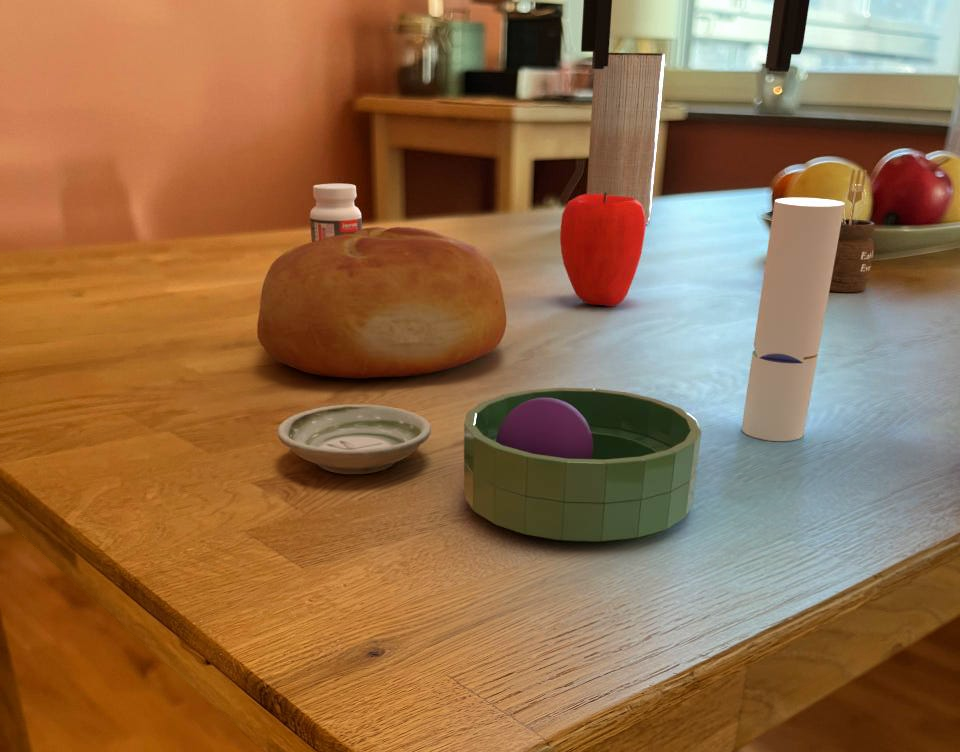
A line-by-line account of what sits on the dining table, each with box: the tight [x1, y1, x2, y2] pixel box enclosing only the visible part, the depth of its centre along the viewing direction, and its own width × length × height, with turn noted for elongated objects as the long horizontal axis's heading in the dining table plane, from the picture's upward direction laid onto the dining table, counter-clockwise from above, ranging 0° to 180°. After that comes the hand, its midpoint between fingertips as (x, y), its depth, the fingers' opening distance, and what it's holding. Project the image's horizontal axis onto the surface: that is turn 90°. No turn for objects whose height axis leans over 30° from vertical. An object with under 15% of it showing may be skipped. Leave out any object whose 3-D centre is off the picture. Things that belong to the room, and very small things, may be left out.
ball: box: [496, 398, 593, 459], centre depth 58 cm, size 6×6×6 cm
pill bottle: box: [309, 183, 363, 242], centre depth 114 cm, size 6×6×10 cm
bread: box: [256, 226, 507, 379], centre depth 86 cm, size 23×23×10 cm
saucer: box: [277, 403, 432, 475], centre depth 65 cm, size 10×10×2 cm
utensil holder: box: [829, 168, 875, 293], centre depth 113 cm, size 6×6×12 cm
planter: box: [586, 52, 666, 226], centre depth 151 cm, size 10×10×23 cm
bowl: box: [463, 387, 702, 543], centre depth 59 cm, size 13×13×5 cm
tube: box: [741, 197, 846, 442], centre depth 68 cm, size 4×4×15 cm
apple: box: [559, 193, 646, 307], centre depth 105 cm, size 9×9×11 cm
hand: (687, 69), depth 55 cm, fingers open, 9 cm apart
